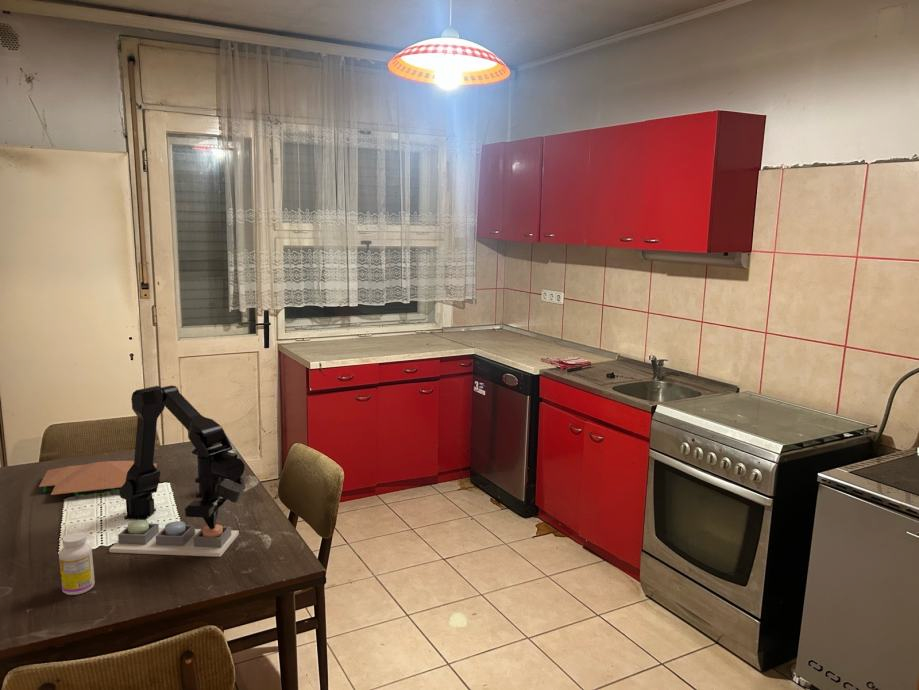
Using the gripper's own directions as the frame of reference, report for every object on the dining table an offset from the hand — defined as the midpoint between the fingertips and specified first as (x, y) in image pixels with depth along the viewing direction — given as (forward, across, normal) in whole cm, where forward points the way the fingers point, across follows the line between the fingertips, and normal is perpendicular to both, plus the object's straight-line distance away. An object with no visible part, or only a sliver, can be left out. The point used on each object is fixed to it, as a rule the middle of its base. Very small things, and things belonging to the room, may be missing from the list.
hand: (212, 528), depth 180 cm
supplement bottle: (+5, -24, +22) cm, 33 cm away
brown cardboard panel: (+5, +37, +52) cm, 64 cm away
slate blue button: (+2, 0, +10) cm, 10 cm away
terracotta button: (+2, 0, 0) cm, 2 cm away
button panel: (+4, 0, +10) cm, 11 cm away
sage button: (+2, 0, +20) cm, 20 cm away
